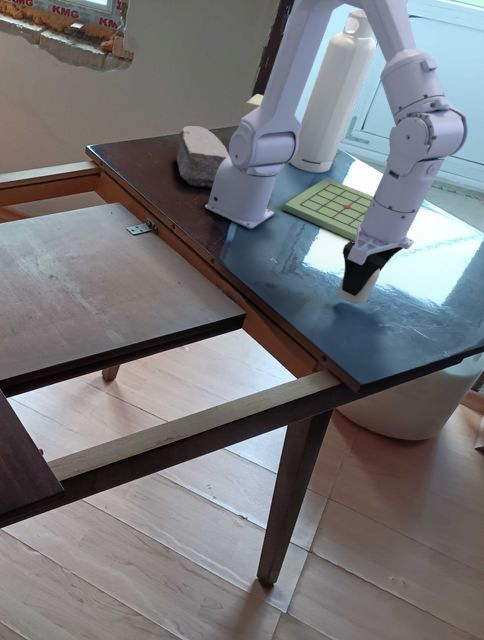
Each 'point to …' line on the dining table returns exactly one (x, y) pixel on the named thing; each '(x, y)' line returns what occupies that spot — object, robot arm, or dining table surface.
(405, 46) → the robot arm
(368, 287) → the cream rounded cylinder
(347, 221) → the game board
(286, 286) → the dining table surface
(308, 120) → the bottle
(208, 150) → the decorative stone
